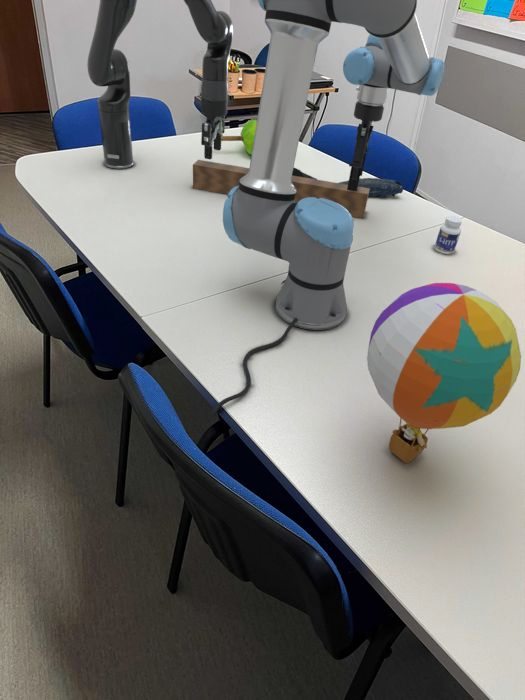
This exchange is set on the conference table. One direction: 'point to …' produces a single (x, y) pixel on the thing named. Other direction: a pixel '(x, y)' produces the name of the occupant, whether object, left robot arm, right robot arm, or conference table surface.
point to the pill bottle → (448, 235)
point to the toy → (441, 360)
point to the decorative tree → (245, 136)
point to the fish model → (379, 186)
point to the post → (229, 177)
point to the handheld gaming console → (301, 174)
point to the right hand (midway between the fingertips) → (354, 182)
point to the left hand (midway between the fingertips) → (212, 154)
